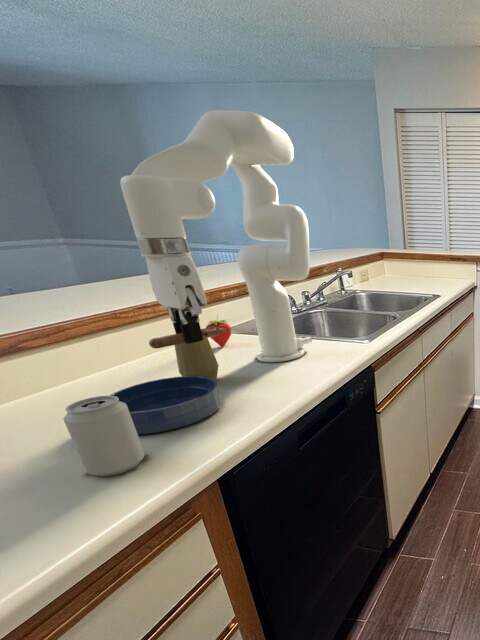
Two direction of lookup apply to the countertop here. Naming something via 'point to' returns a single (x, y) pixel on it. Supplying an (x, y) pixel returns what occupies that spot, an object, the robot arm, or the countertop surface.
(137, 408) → the bowl
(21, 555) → the countertop surface
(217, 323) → the strawberry
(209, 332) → the stirring stick
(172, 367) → the countertop surface
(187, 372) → the squeeze bottle
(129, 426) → the can
